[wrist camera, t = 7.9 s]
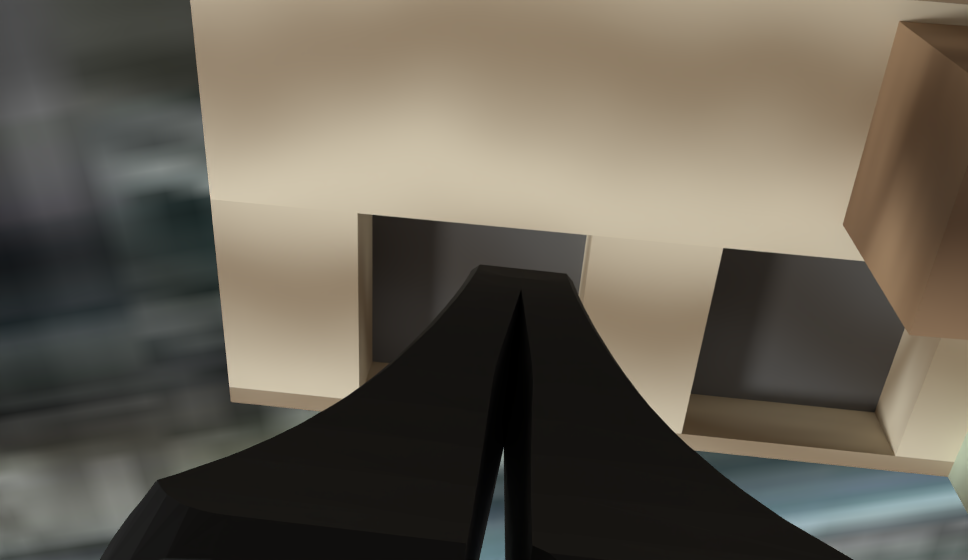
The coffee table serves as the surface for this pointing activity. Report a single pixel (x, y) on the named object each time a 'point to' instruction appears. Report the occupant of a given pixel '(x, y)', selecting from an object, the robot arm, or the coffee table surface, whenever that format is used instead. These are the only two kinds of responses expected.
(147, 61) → the coffee table surface
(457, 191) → the trap deck
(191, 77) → the coffee table surface
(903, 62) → the walnut block
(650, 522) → the robot arm
